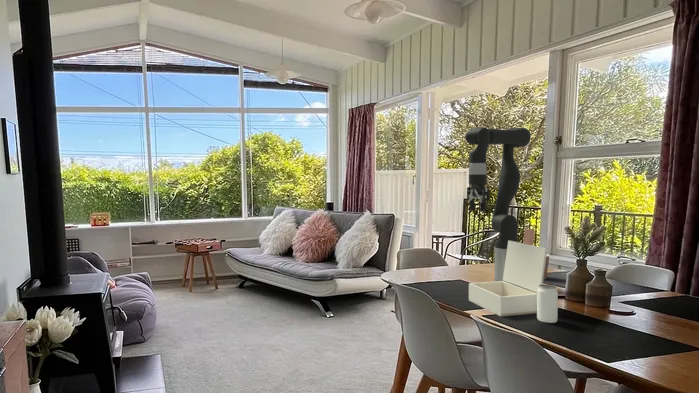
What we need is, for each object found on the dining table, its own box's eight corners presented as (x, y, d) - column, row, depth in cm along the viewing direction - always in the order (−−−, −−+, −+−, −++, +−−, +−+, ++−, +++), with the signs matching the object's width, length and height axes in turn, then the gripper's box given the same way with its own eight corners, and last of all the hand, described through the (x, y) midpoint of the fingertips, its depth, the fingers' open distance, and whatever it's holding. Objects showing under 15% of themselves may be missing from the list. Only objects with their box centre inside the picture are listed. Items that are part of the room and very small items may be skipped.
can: (556, 318, 148) (556, 285, 148) (558, 324, 142) (559, 289, 141) (536, 316, 150) (536, 283, 150) (537, 322, 144) (538, 287, 144)
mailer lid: (502, 280, 176) (506, 280, 176) (539, 293, 154) (543, 293, 154) (510, 226, 176) (514, 226, 176) (547, 232, 154) (552, 232, 155)
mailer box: (502, 297, 176) (502, 281, 175) (538, 313, 154) (538, 294, 154) (468, 300, 172) (468, 283, 172) (500, 316, 150) (500, 297, 150)
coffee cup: (553, 280, 207) (553, 256, 207) (532, 280, 208) (532, 256, 207) (544, 275, 218) (544, 252, 217) (524, 275, 218) (524, 252, 218)
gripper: (494, 173, 177) (494, 211, 177) (476, 174, 190) (476, 209, 191) (478, 173, 175) (478, 212, 175) (461, 174, 188) (461, 210, 189)
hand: (477, 210), depth 183 cm, fingers open, 8 cm apart
